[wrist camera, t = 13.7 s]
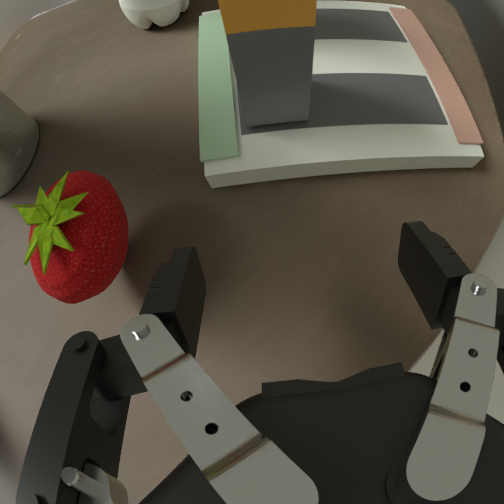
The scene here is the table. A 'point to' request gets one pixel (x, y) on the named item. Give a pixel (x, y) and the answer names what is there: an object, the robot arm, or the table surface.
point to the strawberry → (76, 236)
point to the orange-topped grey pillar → (271, 57)
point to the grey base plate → (340, 103)
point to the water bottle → (153, 11)
